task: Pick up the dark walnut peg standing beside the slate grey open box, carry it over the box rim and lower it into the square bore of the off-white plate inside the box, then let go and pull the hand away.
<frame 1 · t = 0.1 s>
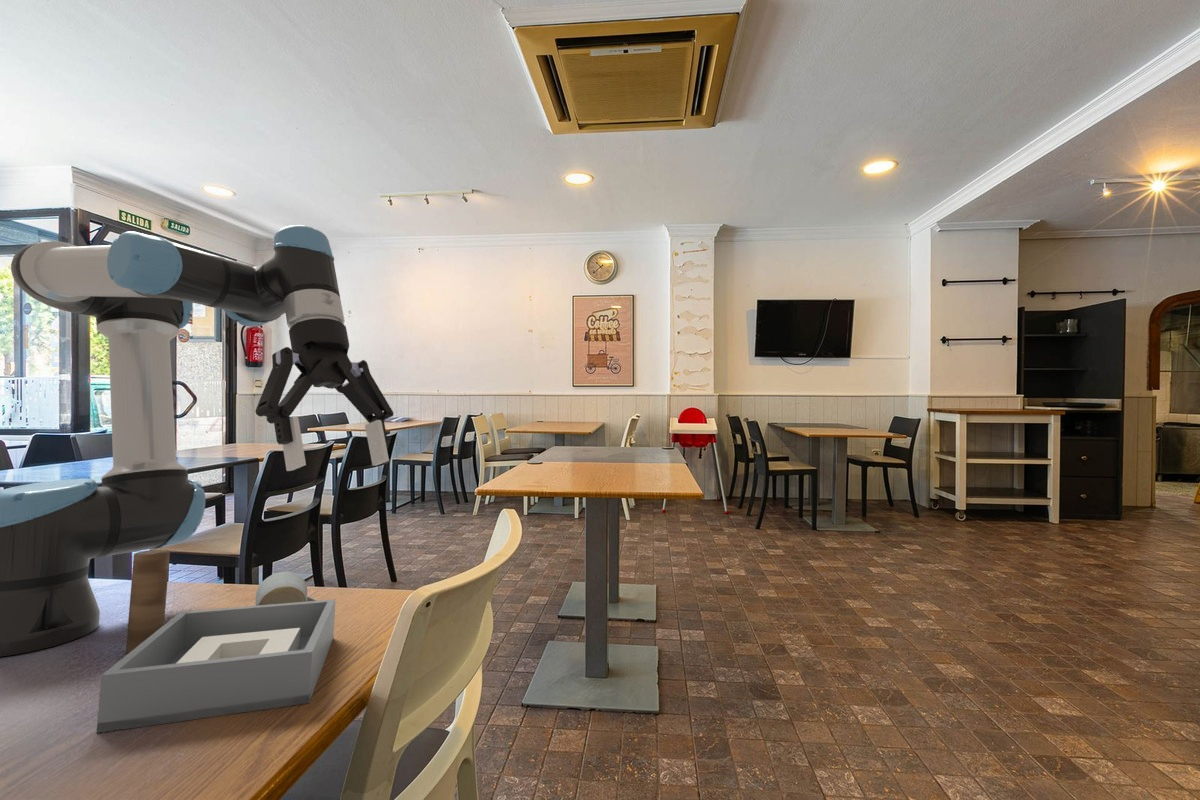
hand: (342, 465, 71), 28 cm above the table, tool tilted 20°, fingers open, 13 cm apart
ceramic mug: (289, 622, 86), on the table
walnut peg: (144, 650, 74), on the table
grey box: (237, 676, 67), on the table
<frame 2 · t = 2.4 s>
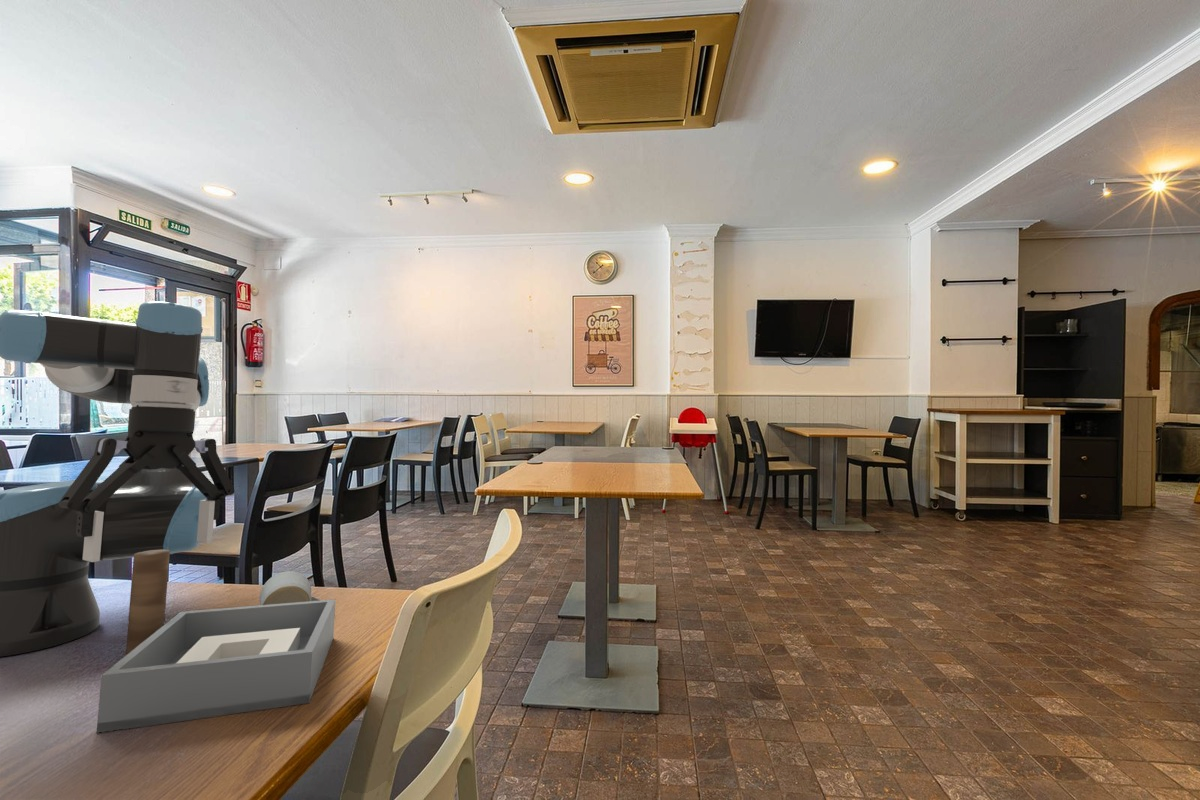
hand: (152, 550, 75), 14 cm above the table, tool pointing down, fingers open, 13 cm apart
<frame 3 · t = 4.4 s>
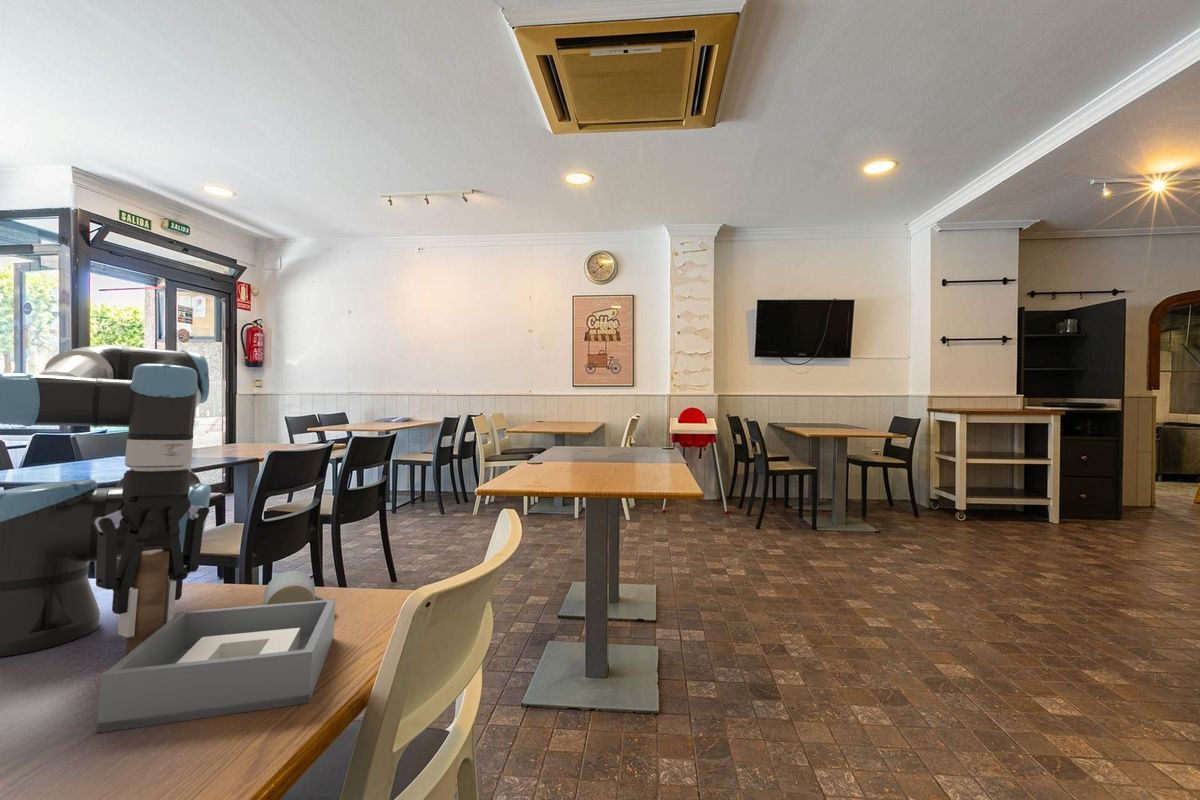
hand: (146, 628, 74), 3 cm above the table, tool pointing down, fingers closed on walnut peg, 4 cm apart
walnut peg: (144, 650, 74), on the table, touching gripper
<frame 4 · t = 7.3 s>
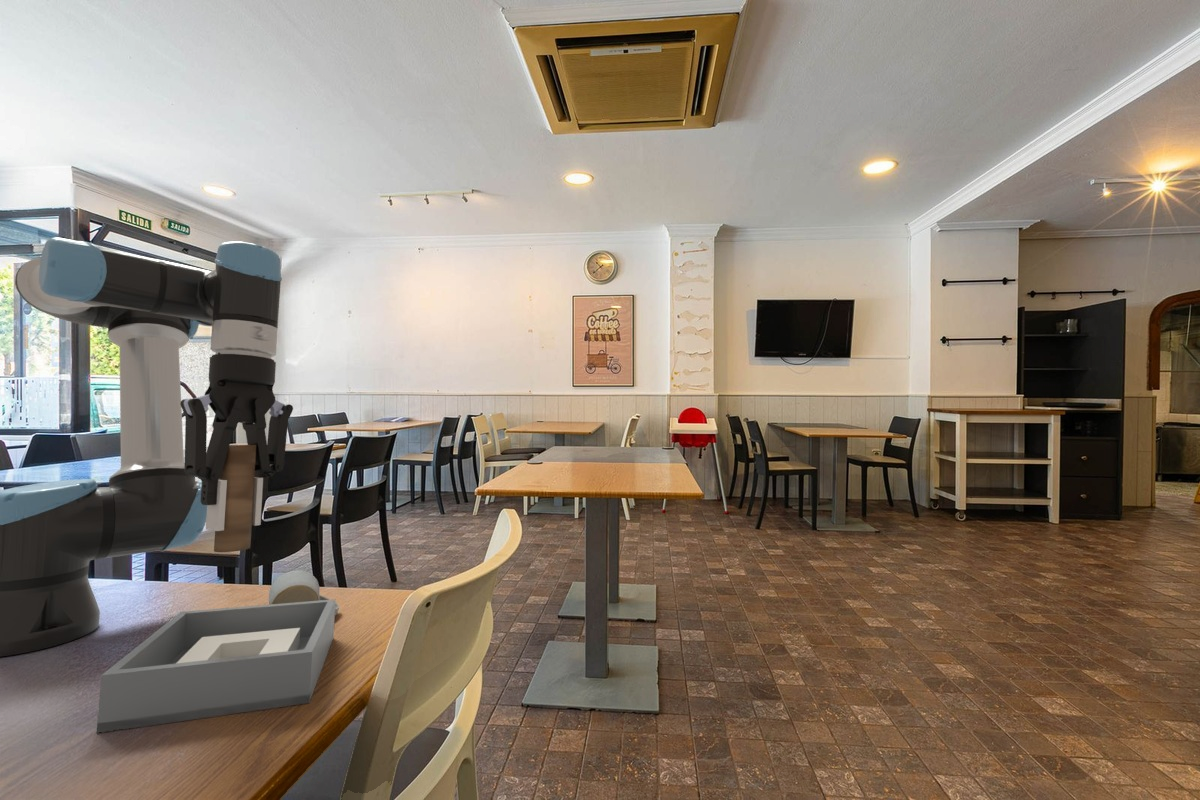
hand: (233, 526, 69), 19 cm above the table, tool pointing down, fingers closed on walnut peg, 4 cm apart
walnut peg: (232, 549, 68), point 16 cm above the table, touching gripper
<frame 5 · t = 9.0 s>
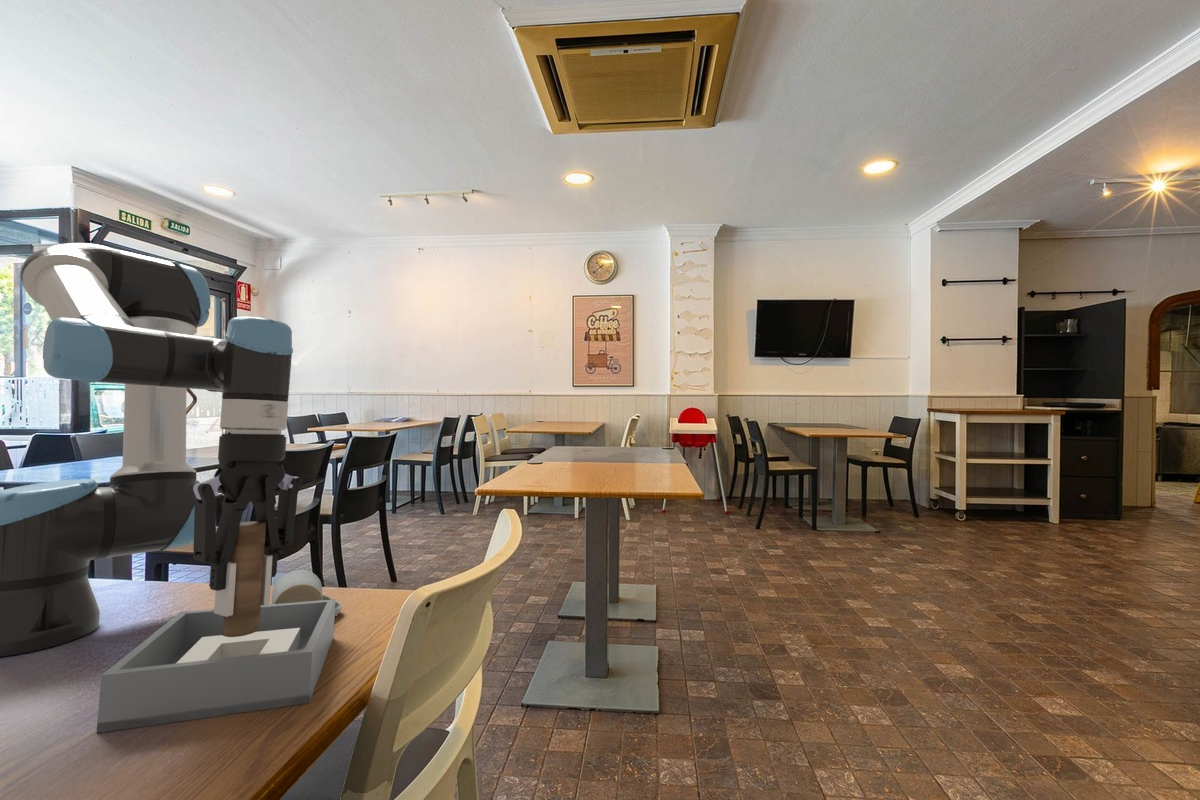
hand: (242, 608, 67), 9 cm above the table, tool pointing down, fingers closed on walnut peg, 4 cm apart
walnut peg: (241, 631, 67), point 6 cm above the table, touching gripper
when the fingers open (5 cm above the table, at t = 10.2 s): walnut peg stays where it is, resting on grey box.
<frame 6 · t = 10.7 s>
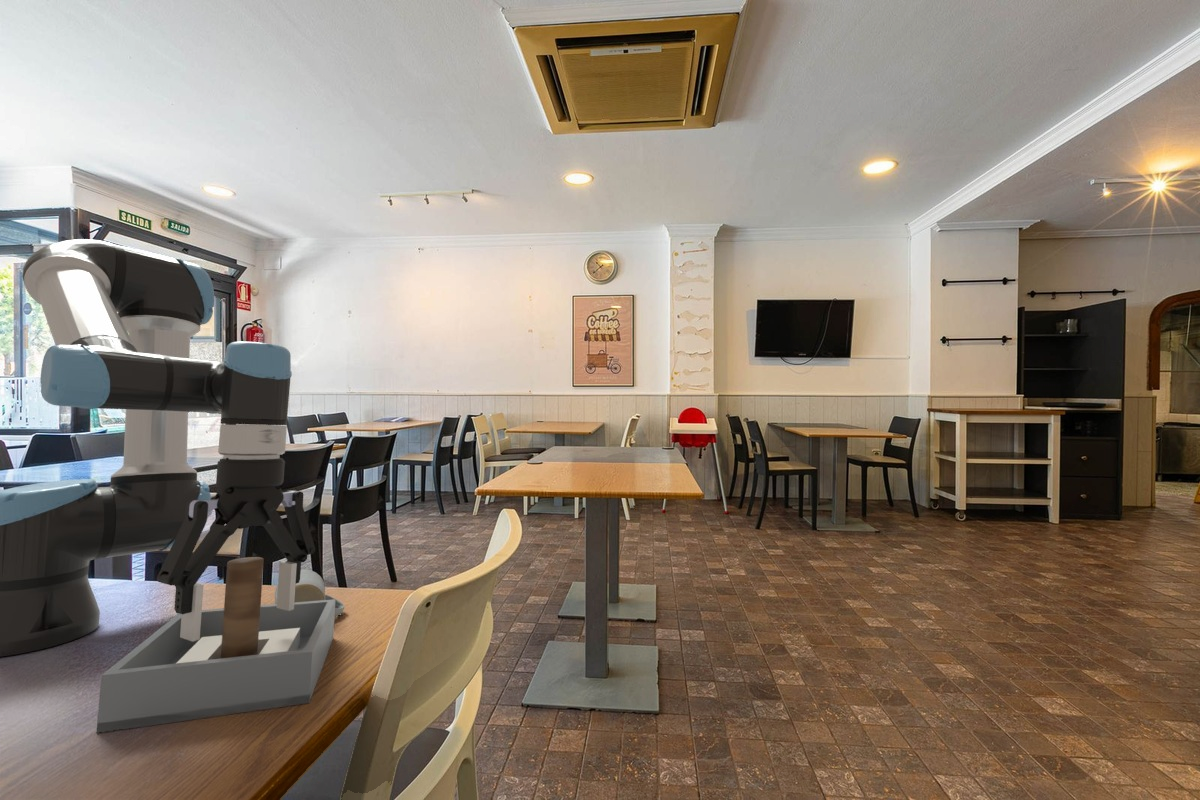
hand: (241, 622, 67), 7 cm above the table, tool pointing down, fingers open, 11 cm apart
walnut peg: (238, 668, 67), point 1 cm above the table, touching grey box
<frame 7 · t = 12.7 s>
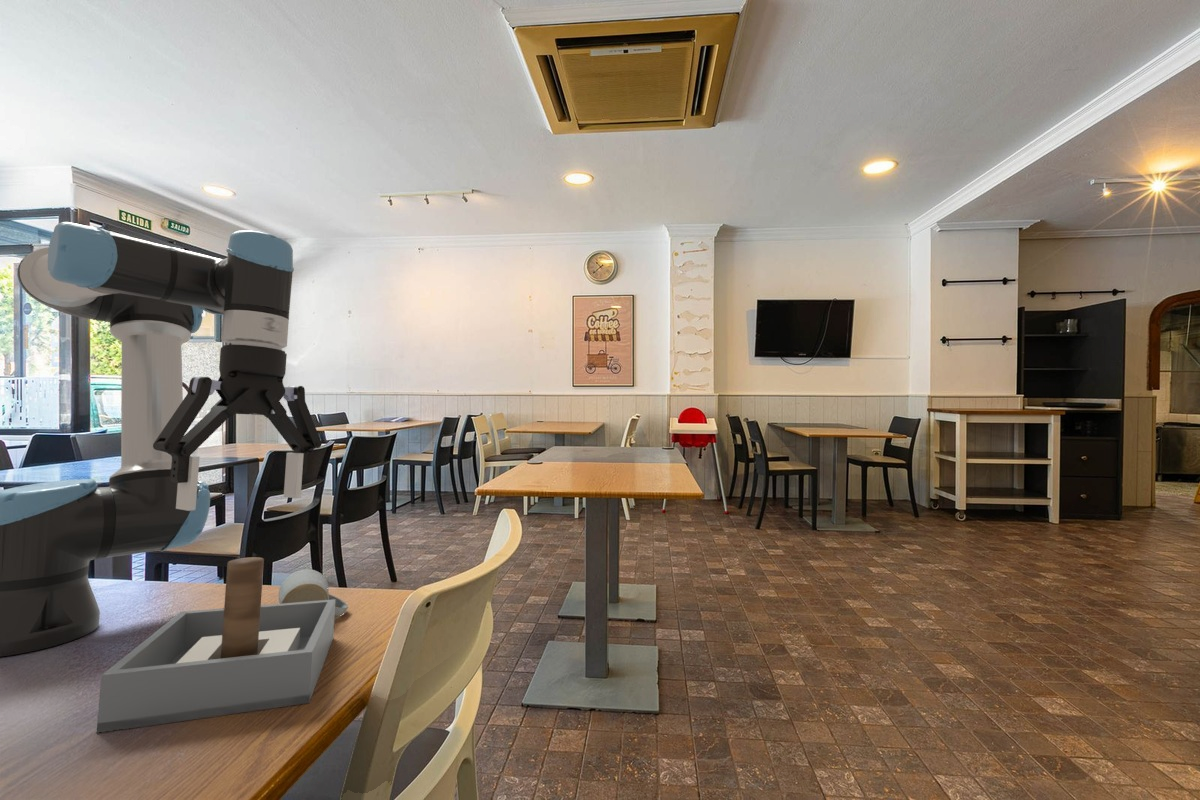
hand: (243, 503, 68), 23 cm above the table, tool pointing down, fingers open, 13 cm apart
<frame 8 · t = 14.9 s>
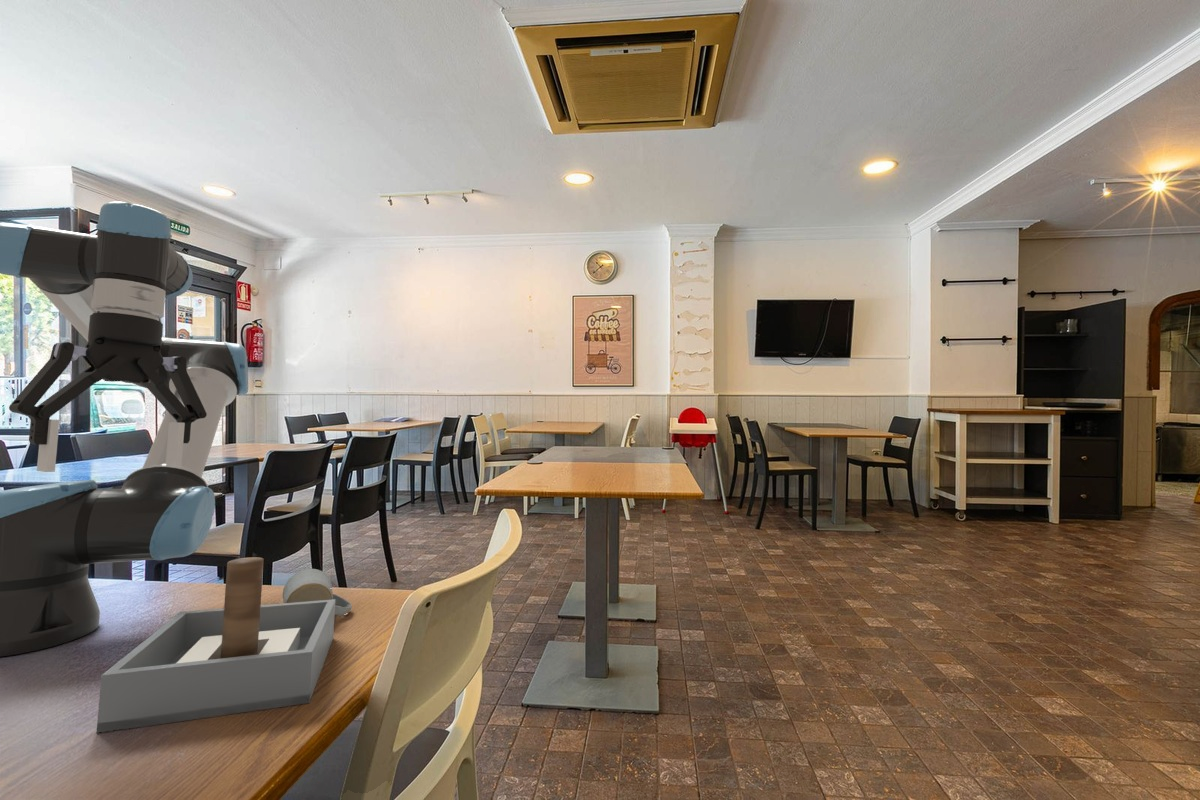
hand: (115, 468, 70), 27 cm above the table, tool pointing down, fingers open, 13 cm apart
at the end: walnut peg 0.0 cm off-centre on the grey box, point 1.0 cm above the grey box's base; walnut peg tilted 0°; the gripper is holding nothing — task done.
